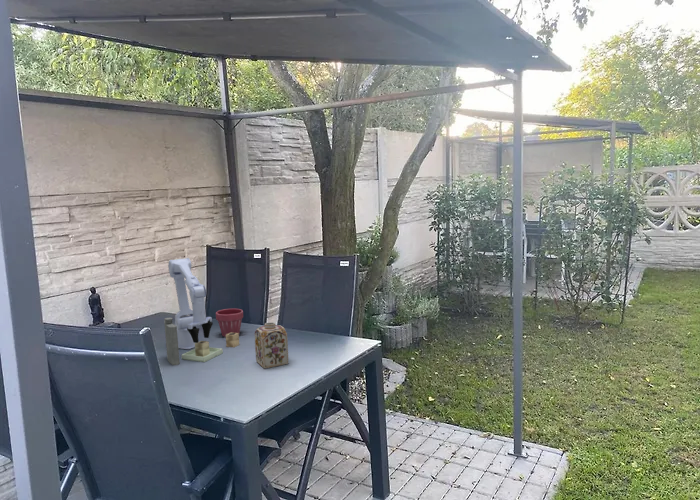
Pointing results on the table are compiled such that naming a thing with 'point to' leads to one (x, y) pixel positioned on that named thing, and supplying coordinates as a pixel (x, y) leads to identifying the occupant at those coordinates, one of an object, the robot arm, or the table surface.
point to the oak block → (232, 339)
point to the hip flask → (171, 342)
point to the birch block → (202, 348)
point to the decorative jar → (271, 345)
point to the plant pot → (229, 320)
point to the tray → (193, 357)
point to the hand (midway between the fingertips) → (201, 340)
